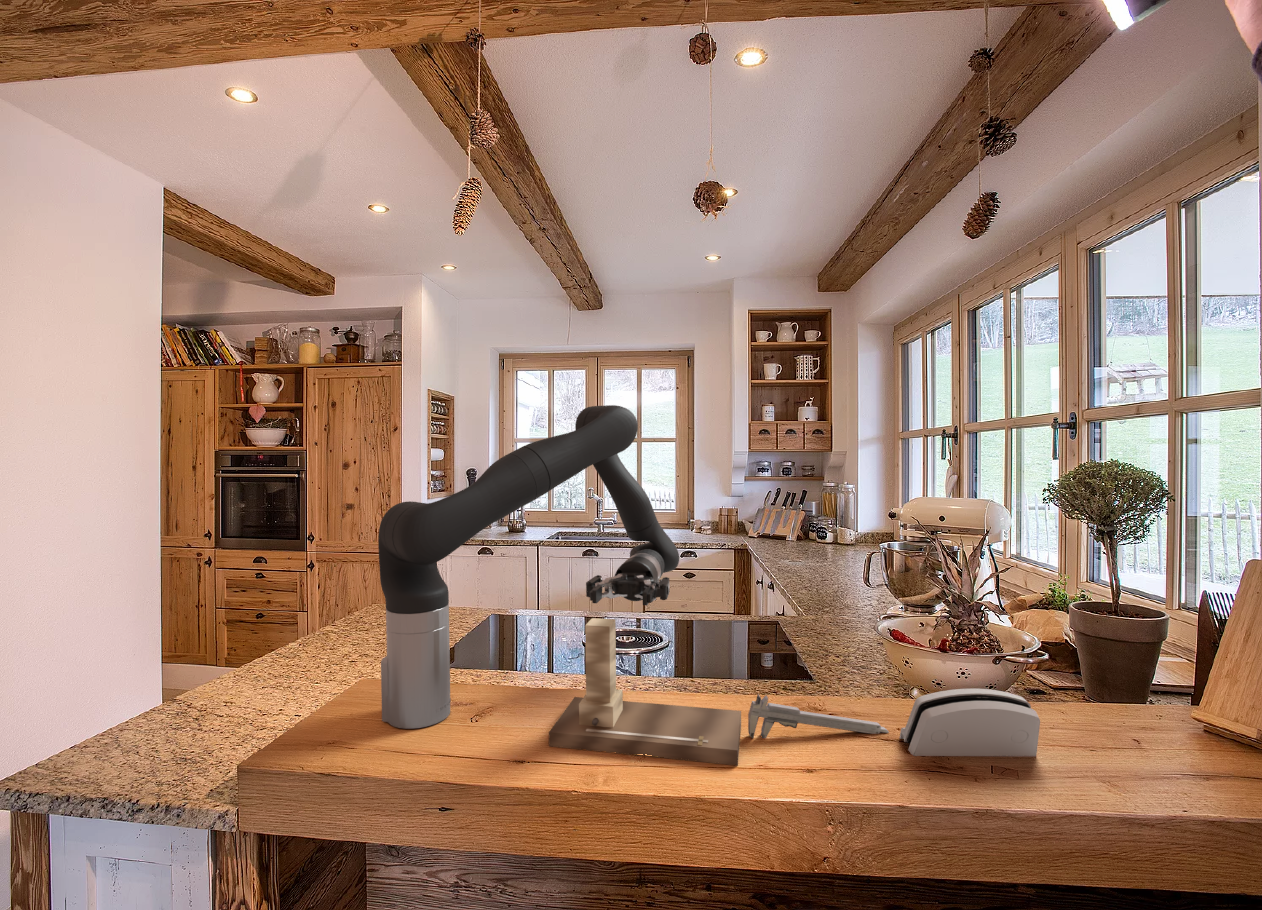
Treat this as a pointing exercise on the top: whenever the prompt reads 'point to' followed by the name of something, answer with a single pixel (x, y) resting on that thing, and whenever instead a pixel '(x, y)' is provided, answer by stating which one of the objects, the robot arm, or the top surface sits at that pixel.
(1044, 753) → the top surface
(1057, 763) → the top surface
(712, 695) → the top surface
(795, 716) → the caliper
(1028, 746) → the grey toaster
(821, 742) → the top surface
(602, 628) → the beige tall block
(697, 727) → the board
